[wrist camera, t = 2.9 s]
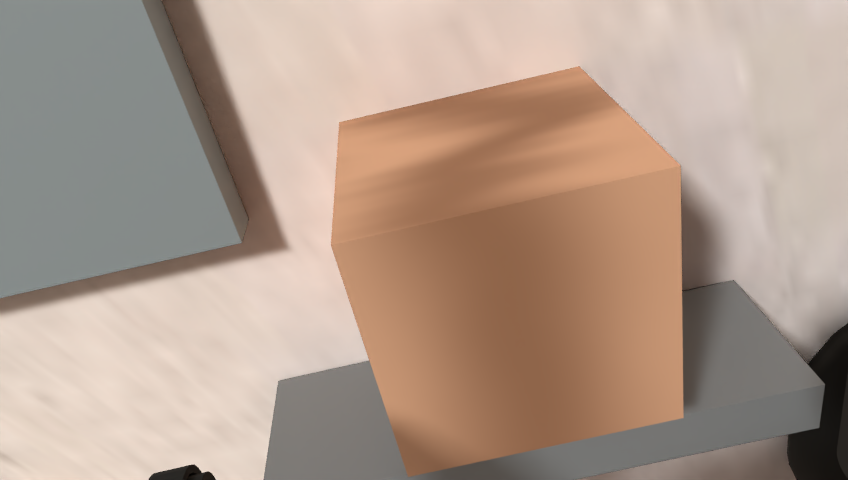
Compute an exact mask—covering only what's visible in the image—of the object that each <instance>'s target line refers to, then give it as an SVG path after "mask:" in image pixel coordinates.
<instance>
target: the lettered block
mask: <svg viewBox="0 0 848 480" xmlns="http://www.w3.org/2000/svg"><path fill="white" fill-rule="evenodd" d="M331 247H332V250H333V253H334V256H335V259H336V262H337V265H338V268H339V271H340V274H341V277H342V280H343V283H344V286H345V289H346V292H347V295H348V298H349V301H350V304H351V307H352V310H353V313H354V316H355V319H356V322H357V325H358V328H359V331H360V334H361V337H362V340H363V343H364V346H365V349H366V352H367V355H368V358H369V361H370V364H371V367H372V370H373V373H374V376H375V379H376V382H377V385H378V388H379V391H380V394H381V397H382V400H383V403H384V406H385V409H386V412H387V415H388V418H389V421H390V424H391V427H392V430H393V433H394V436H395V439H396V442H397V445H398V448H399V451H400V454H401V457H402V460H403V463H404V466H405V469H406V472H407V475H408V477H411V476H415V475H420V474H425V473H429V472H434V471H439V470H443V469H448V468H453V467H457V466H462V465H466V464H471V463H476V462H480V461H485V460H490V459H494V458H499V457H504V456H508V455H513V454H518V453H522V452H527V451H532V450H536V449H541V448H546V447H550V446H555V445H560V444H564V443H569V442H574V441H578V440H583V439H588V438H592V437H597V436H602V435H606V434H611V433H616V432H620V431H625V430H630V429H634V428H639V427H644V426H648V425H653V424H658V423H662V422H667V421H672V420H676V419H681V418H683V330H682V242H681V166H680V165H679V164H678V163H677V162H676V161H675V160H674V159H673V158H672V157H671V156H670V155H669V154H668V153H667V152H666V151H665V150H664V149H663V148H662V147H661V146H660V145H659V144H658V143H657V142H656V141H655V140H654V139H653V138H652V137H651V136H650V135H649V134H648V133H647V132H646V131H645V130H644V129H643V128H642V127H641V126H640V125H639V124H637V123H636V122H635V121H634V120H633V119H632V118H631V117H630V116H629V115H628V114H627V113H626V112H625V111H624V110H623V109H622V108H621V107H620V106H619V105H618V104H617V103H616V102H615V101H614V100H613V99H612V98H611V97H610V96H609V95H608V94H607V93H606V92H605V91H604V90H603V89H602V88H601V87H600V86H599V85H598V84H597V83H596V82H595V81H594V80H593V79H592V78H590V77H589V76H588V75H587V74H586V73H585V72H584V71H583V70H582V69H581V68H580V67H575V68H570V69H566V70H562V71H557V72H553V73H549V74H545V75H540V76H536V77H532V78H527V79H523V80H519V81H515V82H510V83H506V84H502V85H497V86H493V87H489V88H485V89H480V90H476V91H472V92H467V93H463V94H459V95H455V96H450V97H446V98H442V99H437V100H433V101H429V102H425V103H420V104H416V105H412V106H407V107H403V108H399V109H394V110H390V111H386V112H382V113H377V114H373V115H369V116H364V117H360V118H356V119H352V120H347V121H343V122H339V135H338V150H337V164H336V179H335V194H334V208H333V223H332V237H331Z"/></svg>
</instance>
